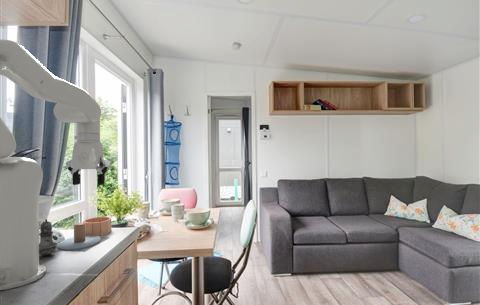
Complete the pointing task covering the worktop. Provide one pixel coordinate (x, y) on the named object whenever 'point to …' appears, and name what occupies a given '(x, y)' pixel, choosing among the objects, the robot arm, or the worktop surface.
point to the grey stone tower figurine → (46, 241)
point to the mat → (84, 248)
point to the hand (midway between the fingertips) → (88, 184)
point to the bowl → (97, 226)
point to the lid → (79, 239)
